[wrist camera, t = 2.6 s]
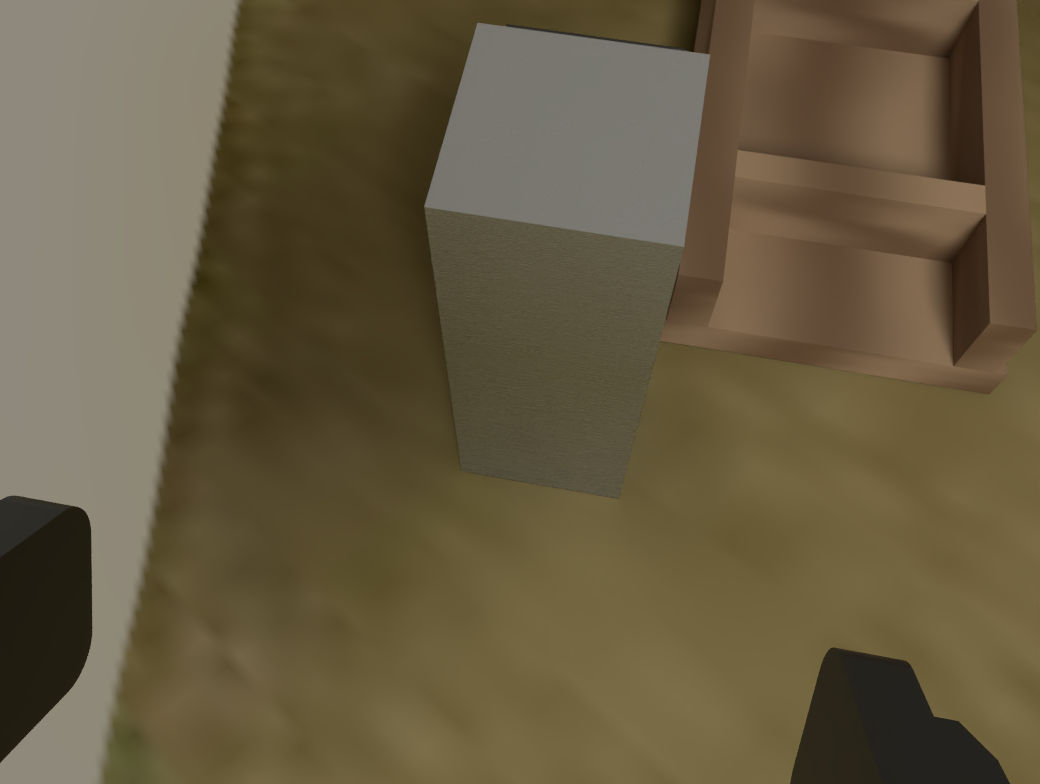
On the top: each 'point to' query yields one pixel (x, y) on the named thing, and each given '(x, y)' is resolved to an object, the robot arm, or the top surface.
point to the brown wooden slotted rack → (861, 189)
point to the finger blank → (560, 245)
